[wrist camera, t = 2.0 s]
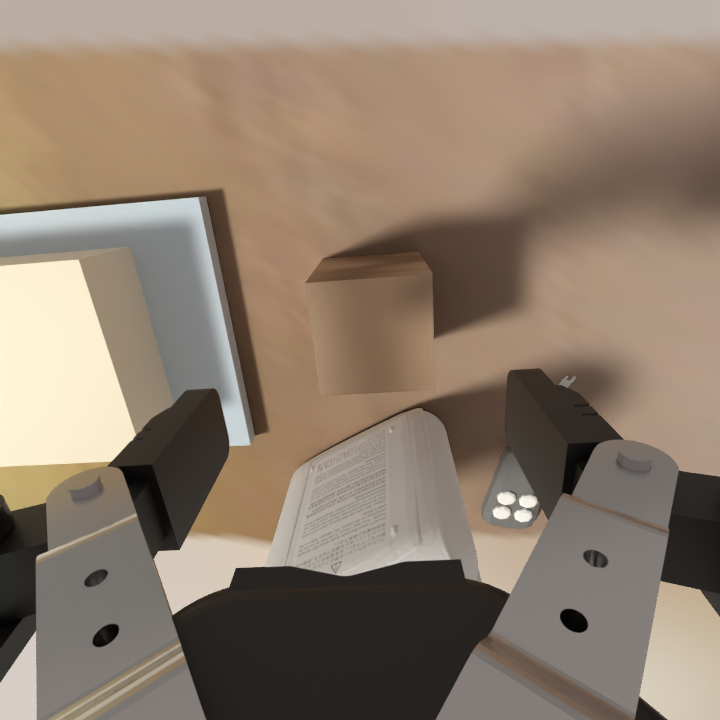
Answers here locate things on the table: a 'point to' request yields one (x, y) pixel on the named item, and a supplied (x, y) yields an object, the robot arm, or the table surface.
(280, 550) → the photo printer
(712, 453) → the table surface
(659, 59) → the table surface
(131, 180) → the table surface
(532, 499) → the key chain
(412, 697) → the robot arm
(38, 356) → the butter dish
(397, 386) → the walnut block
